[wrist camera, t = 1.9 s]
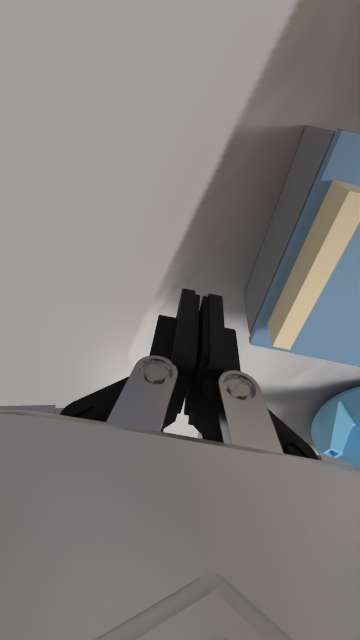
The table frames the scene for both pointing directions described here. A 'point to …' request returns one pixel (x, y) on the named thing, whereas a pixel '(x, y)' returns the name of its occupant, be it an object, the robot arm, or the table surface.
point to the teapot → (339, 427)
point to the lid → (320, 268)
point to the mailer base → (286, 216)
